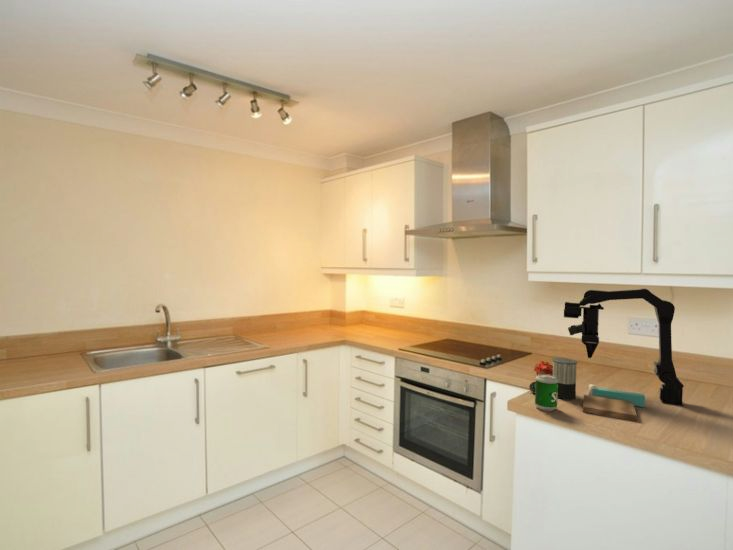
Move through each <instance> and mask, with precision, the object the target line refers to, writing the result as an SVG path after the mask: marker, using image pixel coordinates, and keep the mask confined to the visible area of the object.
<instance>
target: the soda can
mask: <svg viewBox="0 0 733 550" xmlns="http://www.w3.org/2000/svg"><path fill="white" fill-rule="evenodd" d="M535 382H536V383H535V394H534V406H536V407H537V409H538V410H541V411H546V412H554V411H555V410H556V409H557V408H558V398H557V396H558V379H557V378H556V377H555V376H553V375H549V374H539V375H538V376H537V375H536V377H535ZM554 409H555V410H554ZM553 410H554V411H553Z"/></svg>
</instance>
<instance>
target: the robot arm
mask: <svg viewBox="0 0 733 550" xmlns="http://www.w3.org/2000/svg"><path fill="white" fill-rule="evenodd" d="M635 299H636V300H639V299H641V300H642V299H643V300H644V301H645V302H647V303H648V304H650V305H652V307H654V308H653V309H654V312H655V313H654V314H655V316H656V319H657V323H658V353H659V355H658V356H659V357H658V361H653V364H654V365H653V366H654V370H653V372H654V374H655V376H657V378H658V380H660V382H661V383H663V384H661V386H660V388H659V393H658V394H659V395H658V396H659V400H660V401H661V403H664V404H669V405H675V406H684V403H683V395H684V394H683V393H684V392H683V391H684V389H683V388H684V384H683V383H682V382H681V380H680V379H679V378H678V377H677V373H676V369H675V365H674V362H673V353H672V352H673V351H672V350H673V349H672V347H673V346H672V345H673V344H672V323H673V320H674V316H675V311H676V307H675V305H674V303H672V302H670V301H668V300H666V299H661V298H660V297H659V296H657V295H656V294H654V293H652V292H651V291H650V290H649V289H647V288H639V289H623V290H599V289H589V290H586V291H585V292H584V294H583V298H582V299H581V300H579V302H569V301H565V302H564V309H563V318H566V319H567V318H569V319H579V317H582V321H581V323H580V324H573V325H570V326H568V327H567V330H568V332H569V336H573V335H576V334H581V343H582V344H583V345H584V346H585V349H586V353H587V358H588V359H592V357H593V355H594V353H595V351H596V349H597V348H598V346H599V344H600V343H599V342H600V337H599V320H600V319H599V316H600V315H599V313H600V311H599V310H601V311H602V310H605V308H604V306H602V305H601V303H605V302H606V301H607V302H608V301H617V300H635ZM587 305H589V306H587ZM582 315H583V316H582Z"/></svg>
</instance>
